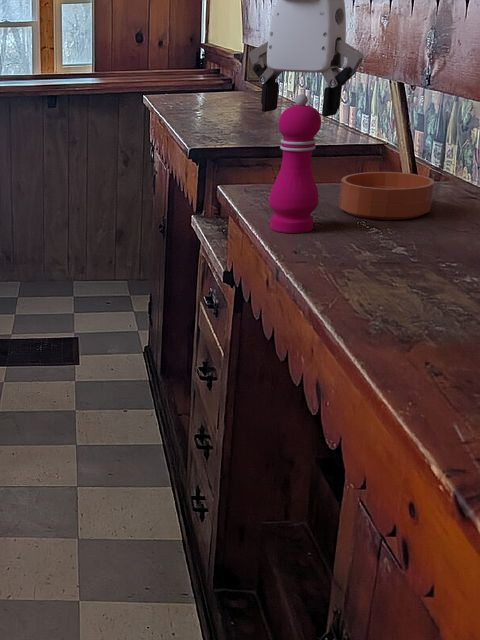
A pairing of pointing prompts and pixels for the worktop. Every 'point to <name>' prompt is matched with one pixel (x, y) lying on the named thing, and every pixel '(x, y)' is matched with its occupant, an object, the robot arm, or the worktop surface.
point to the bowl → (386, 195)
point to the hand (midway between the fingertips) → (298, 113)
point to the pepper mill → (296, 170)
